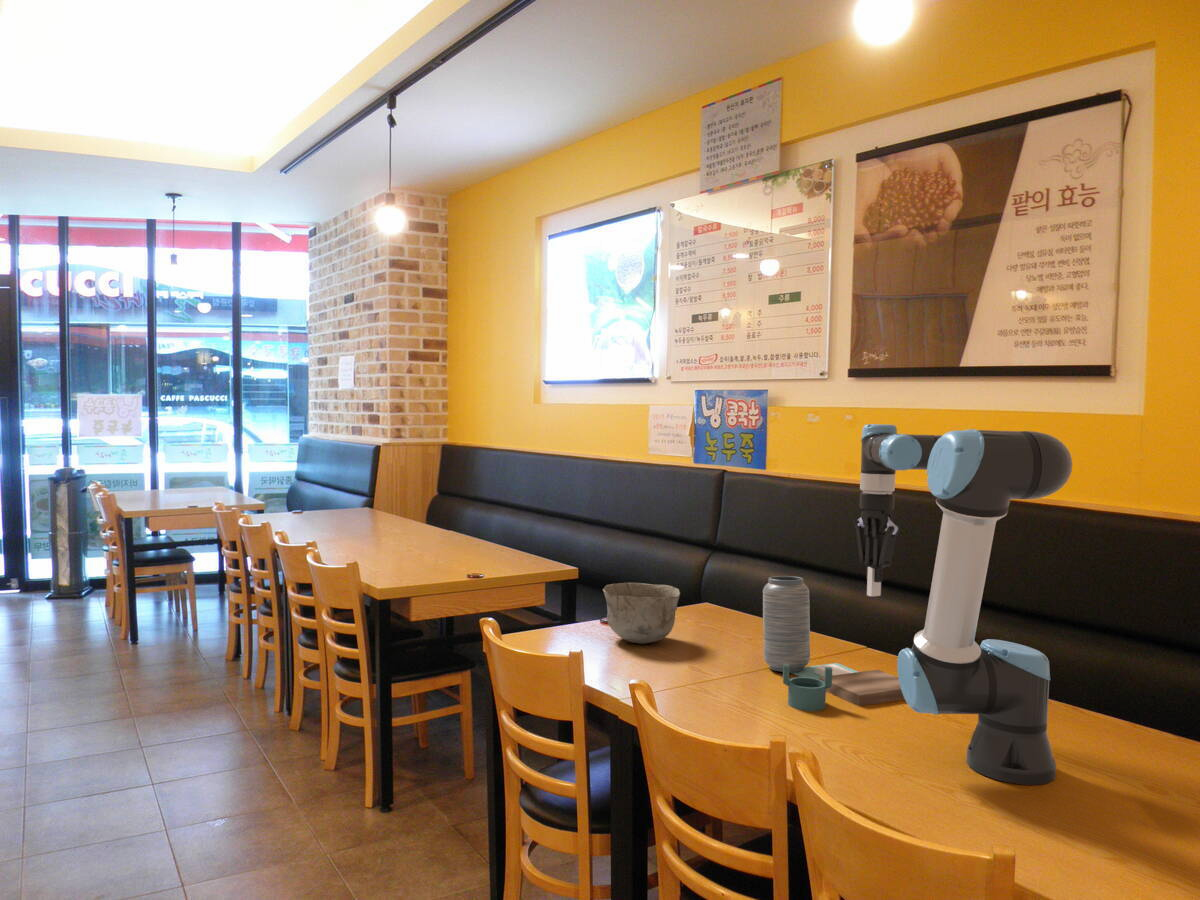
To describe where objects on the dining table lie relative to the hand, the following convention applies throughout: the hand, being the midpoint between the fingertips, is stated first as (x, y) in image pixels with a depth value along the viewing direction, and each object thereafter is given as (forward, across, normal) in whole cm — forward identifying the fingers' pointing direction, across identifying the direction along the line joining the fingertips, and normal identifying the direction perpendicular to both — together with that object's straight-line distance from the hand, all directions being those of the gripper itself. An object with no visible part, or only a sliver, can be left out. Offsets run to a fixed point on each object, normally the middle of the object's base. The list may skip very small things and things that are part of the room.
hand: (873, 595), depth 200 cm
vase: (+24, +27, +3) cm, 36 cm away
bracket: (+25, +4, +15) cm, 29 cm away
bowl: (+25, +64, +26) cm, 74 cm away
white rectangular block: (+24, +17, -4) cm, 29 cm away
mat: (+24, +19, -4) cm, 31 cm away
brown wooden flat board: (+24, +5, -4) cm, 25 cm away
